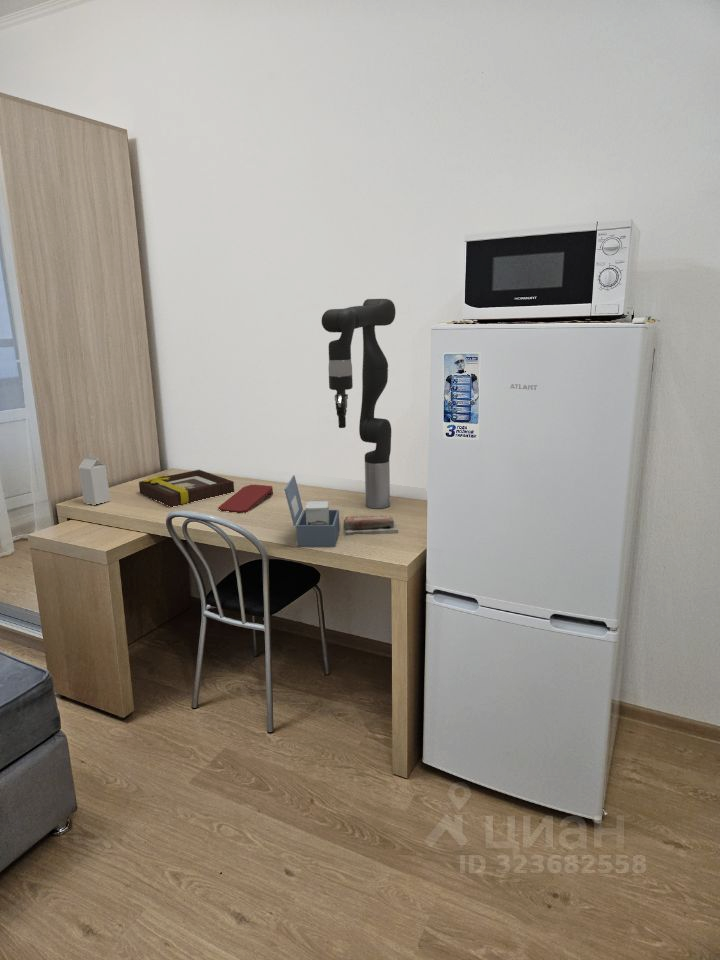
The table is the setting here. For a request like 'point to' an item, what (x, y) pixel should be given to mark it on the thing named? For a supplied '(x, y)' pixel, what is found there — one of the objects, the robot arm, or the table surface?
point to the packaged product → (369, 525)
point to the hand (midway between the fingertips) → (342, 427)
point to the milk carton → (94, 481)
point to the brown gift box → (185, 487)
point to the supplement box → (317, 513)
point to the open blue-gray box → (318, 531)
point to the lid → (293, 500)
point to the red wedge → (246, 498)
